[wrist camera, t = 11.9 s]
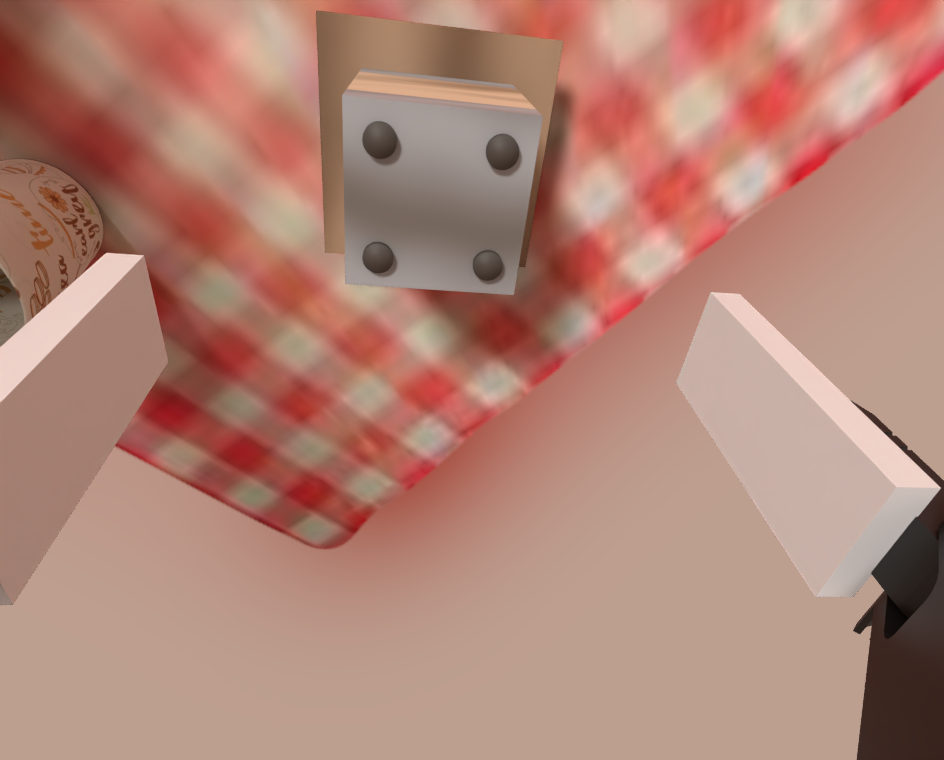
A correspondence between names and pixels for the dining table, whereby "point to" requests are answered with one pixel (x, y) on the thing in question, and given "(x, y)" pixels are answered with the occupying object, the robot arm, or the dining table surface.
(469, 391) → the dining table surface
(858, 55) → the dining table surface
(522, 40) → the stand
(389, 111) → the housing
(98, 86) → the dining table surface
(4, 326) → the mug
